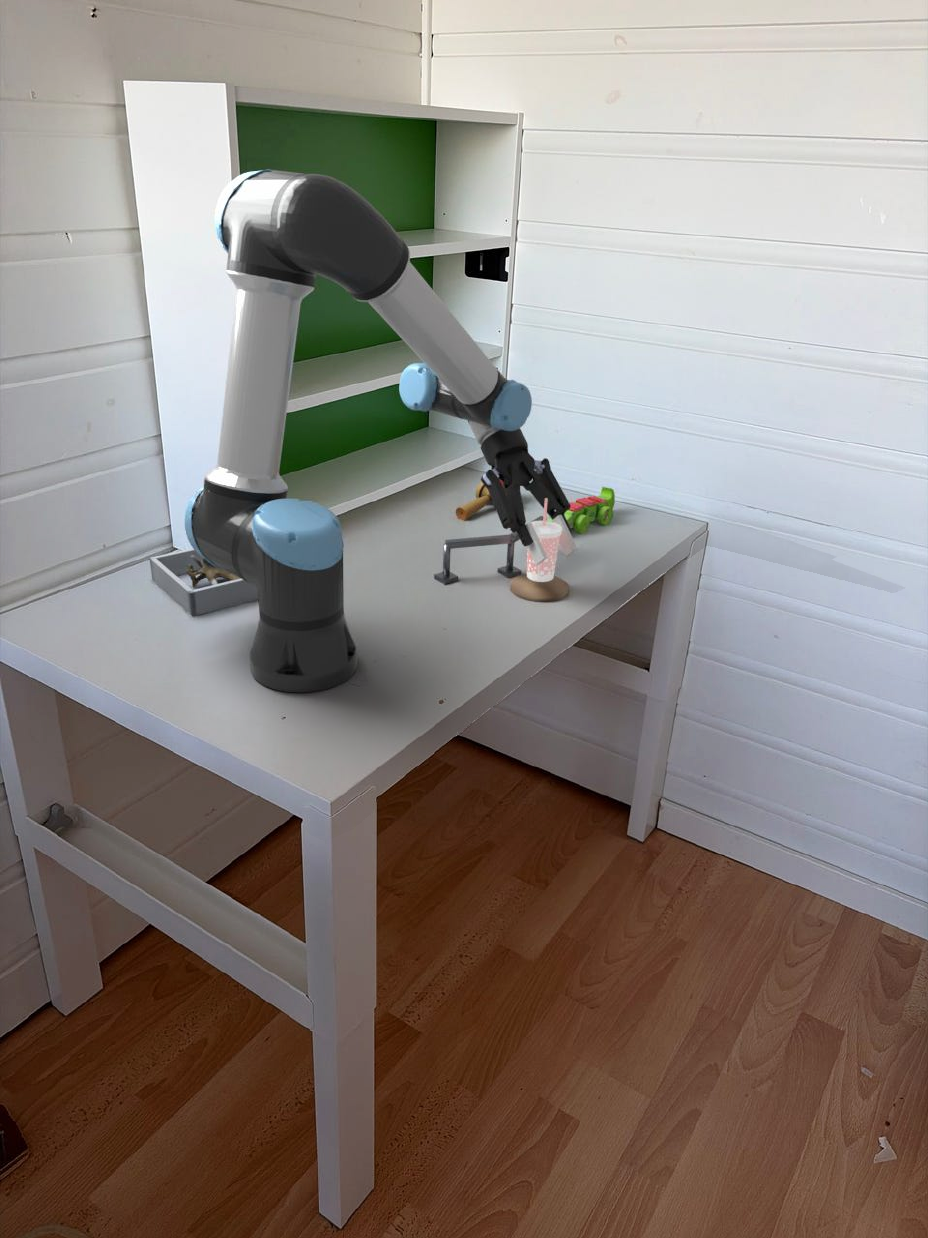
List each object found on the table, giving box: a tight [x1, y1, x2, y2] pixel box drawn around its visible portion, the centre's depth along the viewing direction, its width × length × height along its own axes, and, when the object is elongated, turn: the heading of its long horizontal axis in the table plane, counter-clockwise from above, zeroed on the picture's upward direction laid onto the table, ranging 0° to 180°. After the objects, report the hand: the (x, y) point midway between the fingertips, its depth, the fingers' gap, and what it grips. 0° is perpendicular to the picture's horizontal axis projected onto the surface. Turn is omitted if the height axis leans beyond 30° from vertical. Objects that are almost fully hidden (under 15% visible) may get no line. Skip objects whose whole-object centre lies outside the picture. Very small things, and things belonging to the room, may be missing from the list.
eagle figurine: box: [186, 556, 240, 588], centre depth 157 cm, size 8×7×9 cm
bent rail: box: [433, 515, 548, 585], centre depth 167 cm, size 25×7×7 cm, turn 128°
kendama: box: [455, 479, 507, 522], centre depth 195 cm, size 8×6×18 cm
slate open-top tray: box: [149, 547, 258, 617], centre depth 156 cm, size 14×17×4 cm
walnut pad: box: [509, 573, 570, 603], centre depth 161 cm, size 10×10×1 cm
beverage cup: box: [526, 498, 562, 582], centre depth 157 cm, size 6×6×14 cm
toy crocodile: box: [546, 486, 616, 534], centre depth 189 cm, size 20×7×6 cm, turn 135°
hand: (556, 556), depth 155 cm, fingers closed on beverage cup, 6 cm apart
